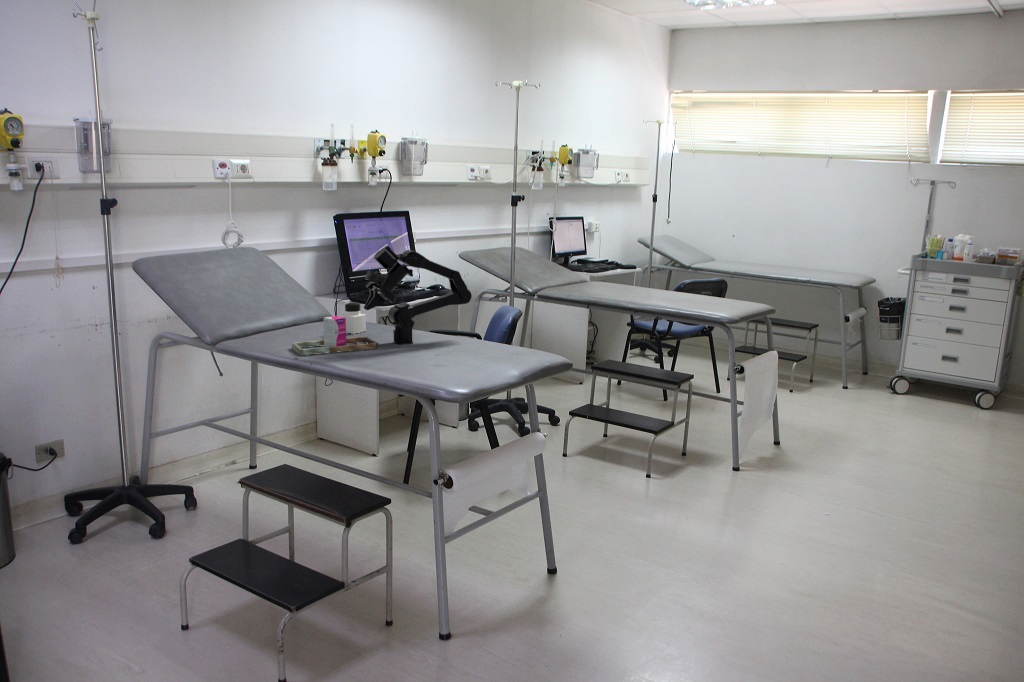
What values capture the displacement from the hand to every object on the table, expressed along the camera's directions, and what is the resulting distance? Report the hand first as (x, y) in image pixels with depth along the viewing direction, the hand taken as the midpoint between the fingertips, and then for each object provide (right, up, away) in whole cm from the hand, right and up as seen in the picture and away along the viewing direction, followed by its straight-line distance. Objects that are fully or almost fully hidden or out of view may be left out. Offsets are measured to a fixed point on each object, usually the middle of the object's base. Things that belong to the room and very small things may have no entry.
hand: (365, 309), depth 297 cm
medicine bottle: (-10, -8, +28) cm, 31 cm away
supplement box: (-10, -14, -2) cm, 18 cm away
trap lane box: (-10, -14, -3) cm, 18 cm away
